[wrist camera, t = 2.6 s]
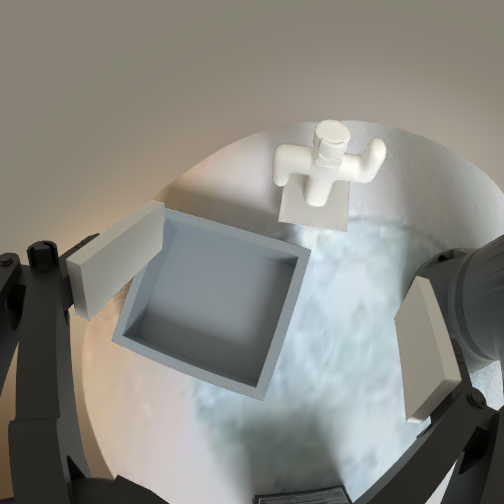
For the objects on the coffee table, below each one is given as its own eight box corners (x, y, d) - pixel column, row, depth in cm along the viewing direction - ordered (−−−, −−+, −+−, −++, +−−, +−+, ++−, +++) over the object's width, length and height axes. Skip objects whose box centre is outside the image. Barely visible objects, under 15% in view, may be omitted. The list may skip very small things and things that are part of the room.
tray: (306, 262, 36) (311, 249, 31) (264, 392, 32) (263, 401, 27) (175, 223, 38) (162, 206, 33) (131, 342, 34) (111, 340, 29)
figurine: (276, 177, 39) (278, 91, 24) (352, 188, 38) (388, 110, 23) (268, 231, 37) (265, 161, 22) (349, 244, 36) (392, 182, 22)
